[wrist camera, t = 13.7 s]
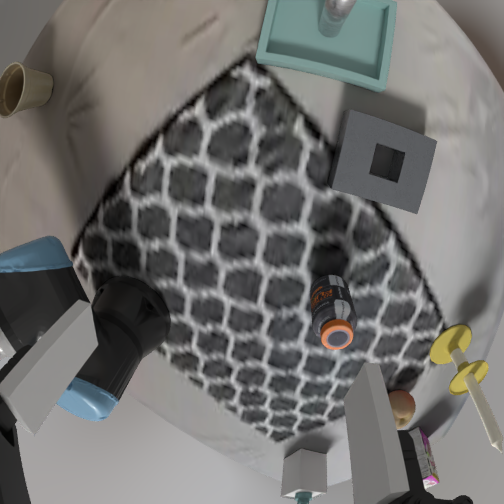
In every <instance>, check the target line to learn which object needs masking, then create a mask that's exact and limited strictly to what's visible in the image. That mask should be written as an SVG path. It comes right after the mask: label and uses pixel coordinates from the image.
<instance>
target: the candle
mask: <svg viewBox="0 0 504 504" xmlns="http://www.w3.org/2000/svg"><path fill="white" fill-rule="evenodd" d="M471 337H472V335H471V330H470V328H468V327H467V326H466V325H456V326H452V327H450V328H448V329H447V330H445V331H444V332H442V333H441V334H440V335H439V336H438V337H437V338H436V339H435V341H434V343H433V344H432V346H431V349H430V354H429V355H430V357H431V360H432V361H433V362H435V363H436V364H445V363H449V362H452V361H453V362H454V364H455V366H456V368H457V370H458V373H457V374H456V375H455V376H454V378H453V379H452V380H451V382H450V385H449V390H450V393H451V394H453V395H461V394H464V393H467V392H469V393H470V395H471V397H472V399H473V401H474V403H475V406H476V408H477V410H478V413H479V415H480V417H481V419H482V422H483V424H484V427H485V429H486V432H487V434H488V437H489V439H490V442H491V445H492V446H494V447H496V448H497V449H498V450H499V451H500V452H501V453H502V441H503V436H502V434H501V431H500V429H499V426H498V424H497V422H496V420H495V417H494V415H493V413H492V411H491V408H490V406H489V404H488V402H487V400H486V398H485V396H484V394H483V392H482V390H481V388H480V386H479V383H480V382H481V381H482V380H483V379H484V377H485V376H486V374H487V372H488V364H487V363H486V362H485V361H484V360H478V361H475V362H472V363H470V364H469V363H468V361H467V359H466V358H465V356H464V354H463V352H464V351H465V350H466V349H467V347H468V346H469V344H470V341H471Z"/></svg>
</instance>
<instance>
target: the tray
mask: <svg viewBox="0 0 504 504" xmlns="http://www.w3.org/2000/svg"><path fill="white" fill-rule="evenodd" d="M324 4H325V0H269V1H268V5H267V9H266V13H265V18H264V22H263V27H262V31H261V35H260V40H259V44H258V49H257V54H256V60H257V62H258V64H265V65H271V66H277V67H282V68H288V69H293V70H298V71H302V72H307V73H311V74H315V75H320V76H324V77H327V78H331V79H335V80H339V81H342V82H346V83H349V84H353V85H356V86H359V87H362V88H365V89H368V90H371V91H374V92H377V93H379V92H382V91H384V90H385V88H386V83H387V77H388V71H389V65H390V58H391V52H392V44H393V37H394V29H395V20H396V10H397V2H395V1H392V0H357V1H356V3H355V5H354V6H353V8H352V10H351V12H350V14H349V16H348V17H347V19H346V21H345V23H344V25H343V27H342V29H341V31H340V32H339V34H338V35H337V36H336V37H334V38H328V37H325V36H323V35H322V34H321V33H320V32H319V30H318V25H319V22H320V18H321V15H322V11H323V7H324Z"/></svg>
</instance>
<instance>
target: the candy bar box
mask: <svg viewBox="0 0 504 504" xmlns="http://www.w3.org/2000/svg"><path fill="white" fill-rule="evenodd" d="M408 433H409V434H410V435H411V437H412V438H413V441H414V445H415V449H416V450H415V451H416V453H417V457H418V458H417V459H418V461H419V465H420V470H421V474H422V479H423V483H424V487H425V489H426V488H429V487H431V486H433V485H435V484H437V483H439V478H438V474H437V470H436V466H435V462H434V458H433V455H432V451H431V447H430V444H429V440H428V438H427V437H426V435H425V434H424V433H423V431H422V430H421V429H420V427H416V428H414V429H413V430H411V431H409V432H408Z"/></svg>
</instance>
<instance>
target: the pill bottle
mask: <svg viewBox="0 0 504 504" xmlns="http://www.w3.org/2000/svg"><path fill="white" fill-rule="evenodd" d="M310 299H311V312H312V327H313V331H314V333H315V334H316V336H318V337H319V338H320V339H321V341H322V343H323V345H324V346H325V347H327V348H329V349H333V350H337V349H342V348H344V347H346V346H348V345H349V344H350V343H351V341H352V339H353V332H354V331H355V329H356V326H357V316H356V312H355V309H354V306H353V302H352V298H351V295H350V291H349V288H348V285H347V283H346V282H345V281H344V280H343V279H342V278H341V277H339V276H336V275H326V276H322V277H320V278H319V279H317V280H316V281H315V282H314V283H313V285H312V287H311V290H310Z"/></svg>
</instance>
